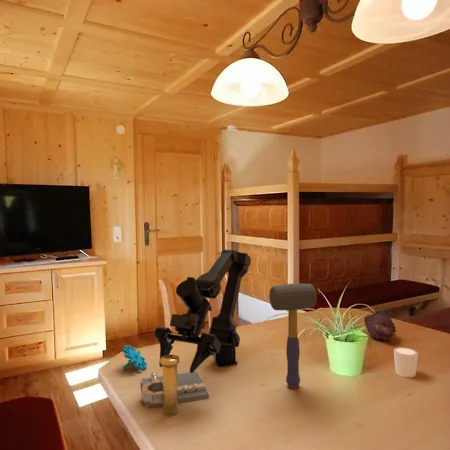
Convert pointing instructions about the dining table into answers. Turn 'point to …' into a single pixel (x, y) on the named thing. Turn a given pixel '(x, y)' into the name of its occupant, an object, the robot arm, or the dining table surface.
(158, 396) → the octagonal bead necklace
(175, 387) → the golden flared cup
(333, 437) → the dining table surface
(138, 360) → the gear
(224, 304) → the robot arm
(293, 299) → the rubber mallet
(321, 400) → the dining table surface
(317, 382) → the dining table surface
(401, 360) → the shot glass
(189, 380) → the grey base plate
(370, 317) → the pine cone
